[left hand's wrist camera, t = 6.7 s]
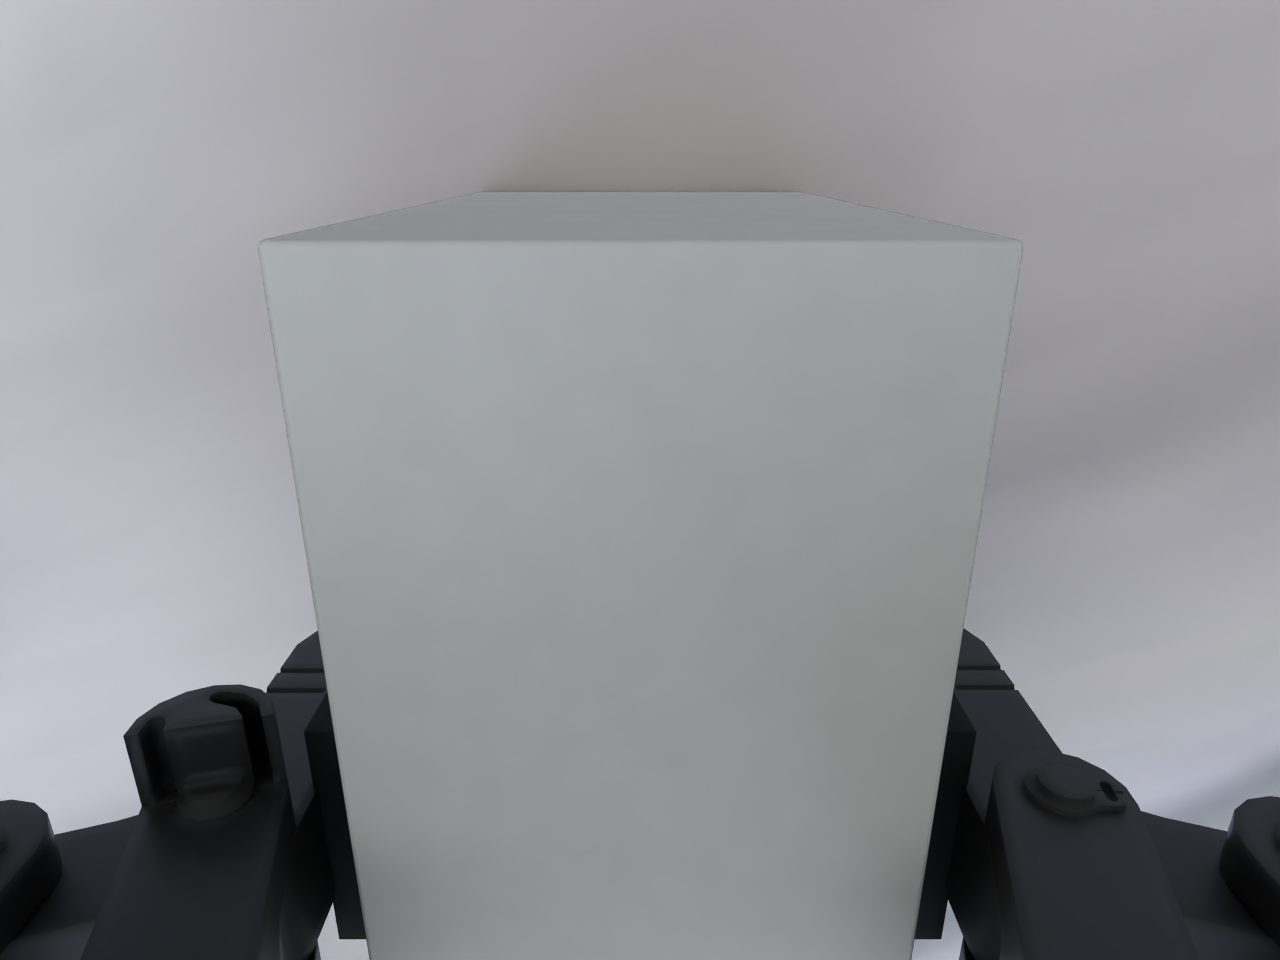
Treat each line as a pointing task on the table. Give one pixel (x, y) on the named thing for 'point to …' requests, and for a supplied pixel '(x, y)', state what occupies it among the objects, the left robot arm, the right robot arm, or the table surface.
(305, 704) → the left robot arm
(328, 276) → the beam
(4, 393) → the table surface
